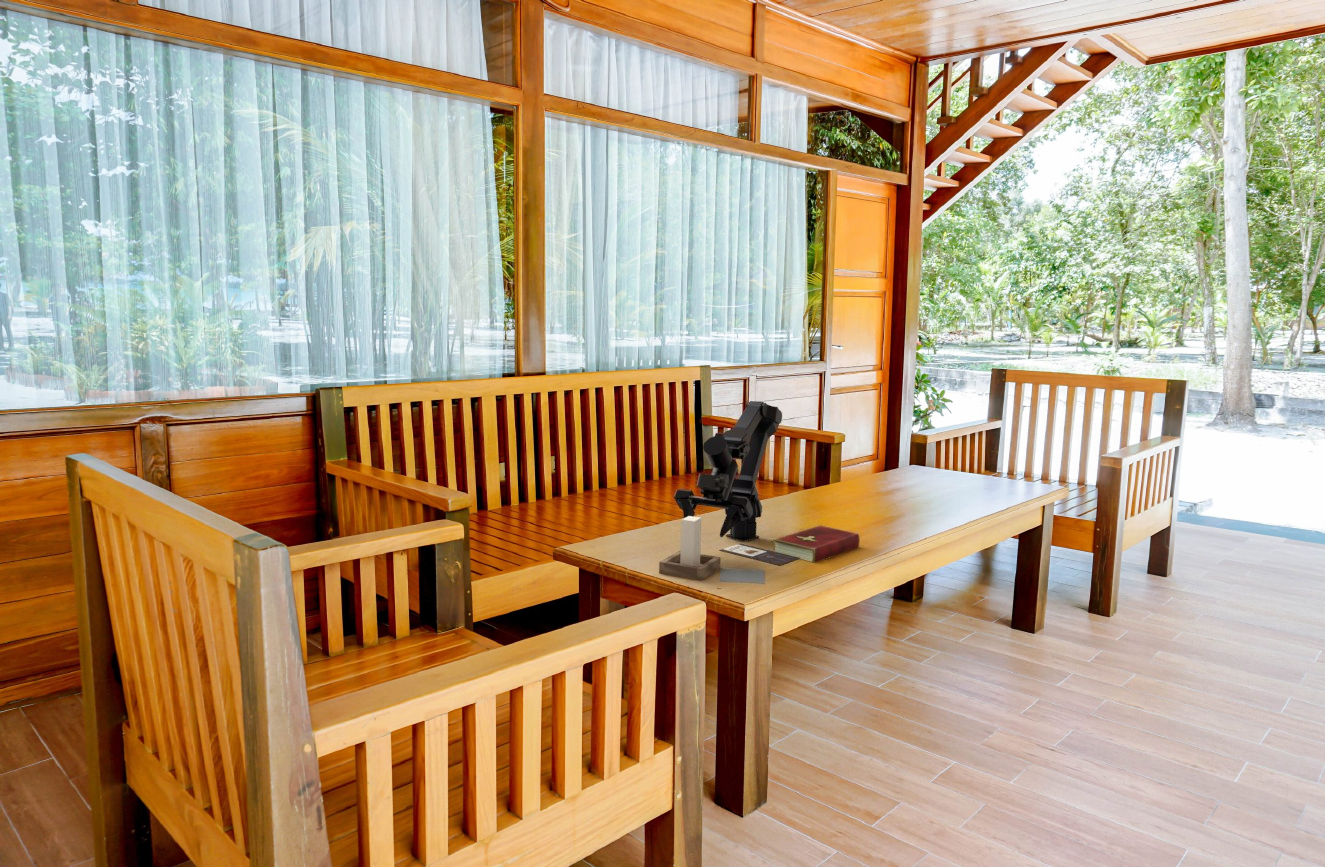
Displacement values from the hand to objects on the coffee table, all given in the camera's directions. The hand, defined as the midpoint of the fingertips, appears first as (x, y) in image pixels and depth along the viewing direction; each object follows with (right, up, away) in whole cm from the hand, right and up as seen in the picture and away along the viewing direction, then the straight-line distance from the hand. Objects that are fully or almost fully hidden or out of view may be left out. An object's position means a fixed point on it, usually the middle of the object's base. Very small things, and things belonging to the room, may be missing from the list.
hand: (702, 533), depth 208 cm
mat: (+9, -9, -8) cm, 15 cm away
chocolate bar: (+14, -7, +9) cm, 19 cm away
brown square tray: (-3, -8, -5) cm, 10 cm away
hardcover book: (+29, -7, +15) cm, 34 cm away
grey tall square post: (-3, -8, -5) cm, 10 cm away
